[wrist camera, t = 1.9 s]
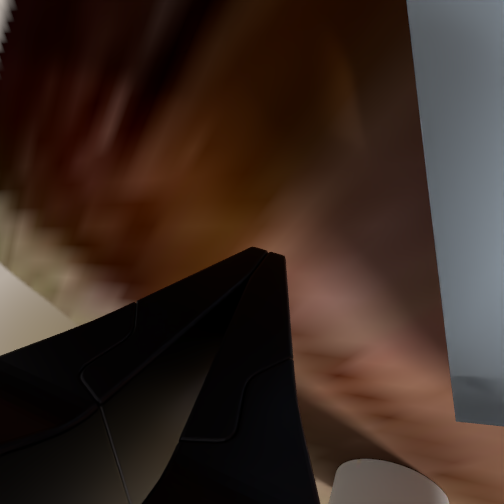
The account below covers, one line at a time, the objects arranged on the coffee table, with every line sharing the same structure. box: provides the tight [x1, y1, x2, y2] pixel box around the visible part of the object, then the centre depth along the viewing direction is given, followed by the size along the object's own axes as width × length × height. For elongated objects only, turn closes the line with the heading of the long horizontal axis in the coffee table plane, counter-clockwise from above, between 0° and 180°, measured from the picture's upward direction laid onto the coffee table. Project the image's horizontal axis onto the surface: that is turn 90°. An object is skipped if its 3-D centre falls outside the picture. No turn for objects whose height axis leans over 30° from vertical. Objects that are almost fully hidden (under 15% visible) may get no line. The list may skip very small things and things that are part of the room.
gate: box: [406, 0, 504, 426], centre depth 7 cm, size 11×1×6 cm, turn 20°
